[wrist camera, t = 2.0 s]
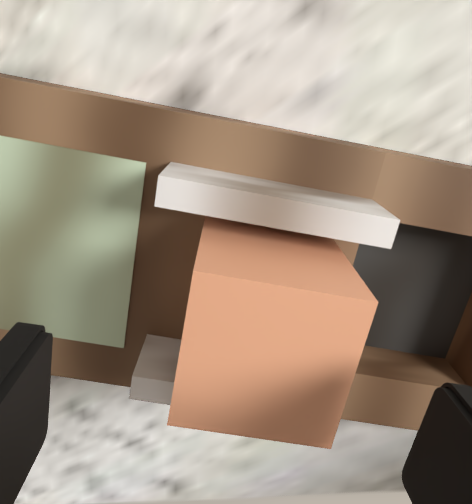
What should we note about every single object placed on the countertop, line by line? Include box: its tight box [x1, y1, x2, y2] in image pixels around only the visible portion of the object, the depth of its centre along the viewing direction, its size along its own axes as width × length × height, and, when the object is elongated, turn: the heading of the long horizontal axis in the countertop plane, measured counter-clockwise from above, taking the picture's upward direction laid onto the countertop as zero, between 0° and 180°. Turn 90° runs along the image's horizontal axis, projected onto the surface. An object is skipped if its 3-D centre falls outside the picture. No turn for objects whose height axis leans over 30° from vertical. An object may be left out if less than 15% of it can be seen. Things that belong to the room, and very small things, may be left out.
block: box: [167, 216, 378, 449], centre depth 15 cm, size 5×5×6 cm
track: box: [0, 73, 472, 430], centre depth 18 cm, size 26×12×6 cm, turn 79°
